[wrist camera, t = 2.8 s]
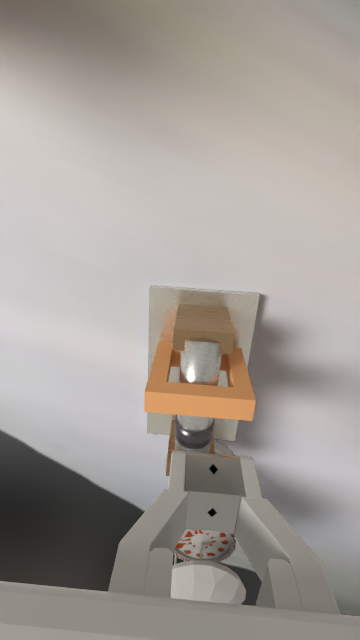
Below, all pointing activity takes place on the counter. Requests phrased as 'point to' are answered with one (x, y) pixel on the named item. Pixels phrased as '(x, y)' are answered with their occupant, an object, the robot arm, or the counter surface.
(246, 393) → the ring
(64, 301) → the counter surface
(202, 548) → the french press
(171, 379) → the pipe rig
